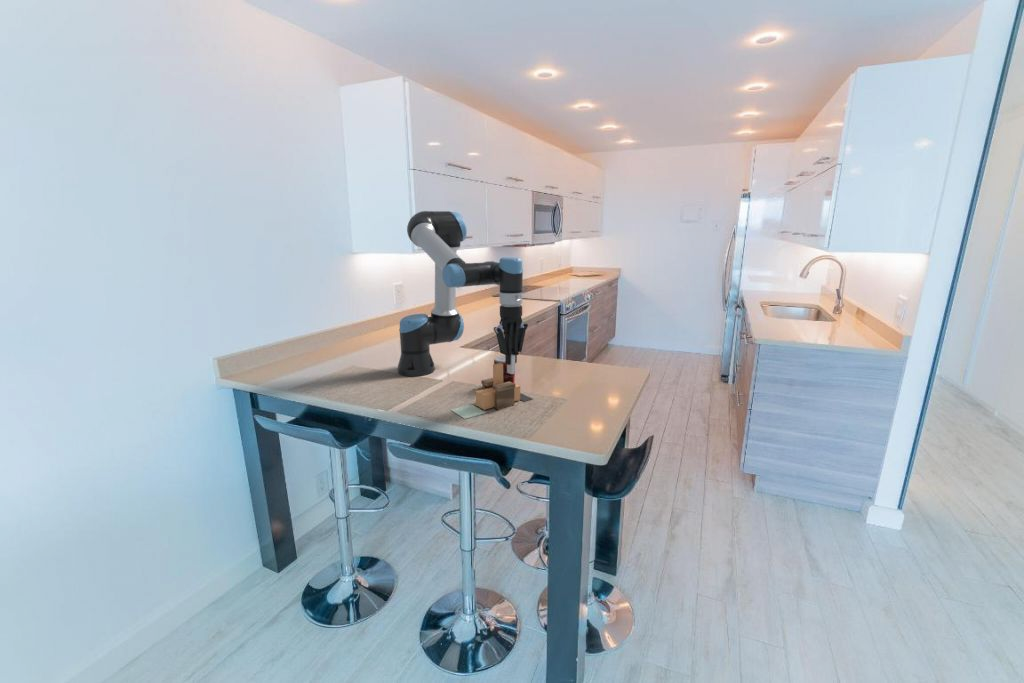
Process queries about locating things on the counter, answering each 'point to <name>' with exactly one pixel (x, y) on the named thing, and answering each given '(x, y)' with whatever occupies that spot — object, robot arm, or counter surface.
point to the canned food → (505, 369)
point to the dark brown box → (501, 392)
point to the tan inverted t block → (487, 396)
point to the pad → (468, 411)
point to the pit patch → (524, 398)
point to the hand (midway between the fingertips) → (511, 372)
